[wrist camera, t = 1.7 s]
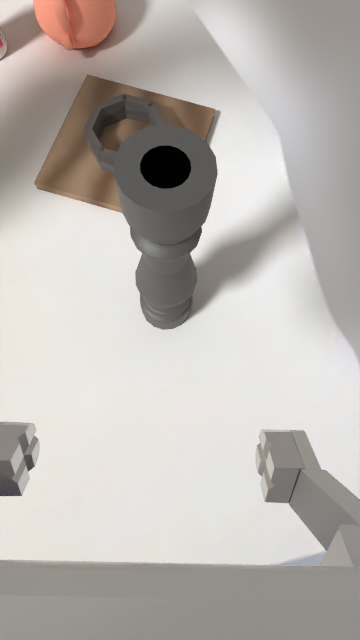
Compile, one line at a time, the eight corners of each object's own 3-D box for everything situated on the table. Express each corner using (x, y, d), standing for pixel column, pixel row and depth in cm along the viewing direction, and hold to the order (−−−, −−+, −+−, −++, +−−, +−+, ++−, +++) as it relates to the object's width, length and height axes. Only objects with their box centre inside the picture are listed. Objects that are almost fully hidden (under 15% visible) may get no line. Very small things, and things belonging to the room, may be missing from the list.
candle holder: (183, 278, 43) (203, 111, 19) (196, 322, 42) (237, 202, 18) (136, 289, 43) (97, 131, 18) (148, 335, 41) (122, 228, 17)
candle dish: (37, 188, 46) (25, 167, 42) (89, 82, 51) (82, 54, 47) (176, 228, 45) (177, 210, 41) (213, 116, 50) (218, 90, 46)
